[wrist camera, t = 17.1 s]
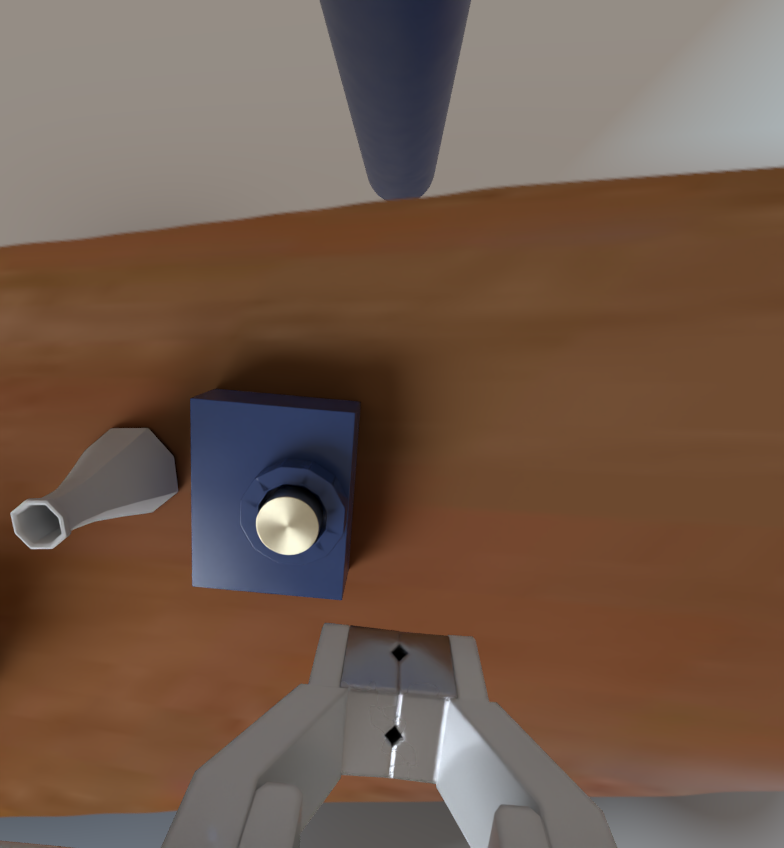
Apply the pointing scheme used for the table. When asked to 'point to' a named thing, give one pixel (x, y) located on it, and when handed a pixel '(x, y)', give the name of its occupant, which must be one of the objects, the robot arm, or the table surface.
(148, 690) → the table surface
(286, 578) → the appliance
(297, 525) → the button
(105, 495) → the flask
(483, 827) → the robot arm
